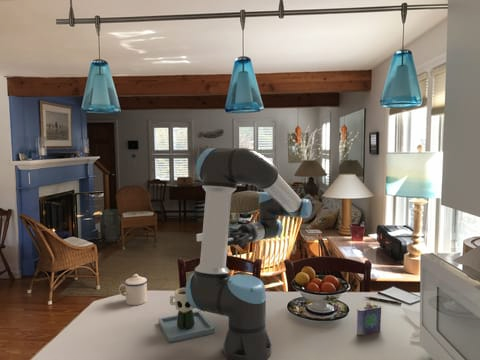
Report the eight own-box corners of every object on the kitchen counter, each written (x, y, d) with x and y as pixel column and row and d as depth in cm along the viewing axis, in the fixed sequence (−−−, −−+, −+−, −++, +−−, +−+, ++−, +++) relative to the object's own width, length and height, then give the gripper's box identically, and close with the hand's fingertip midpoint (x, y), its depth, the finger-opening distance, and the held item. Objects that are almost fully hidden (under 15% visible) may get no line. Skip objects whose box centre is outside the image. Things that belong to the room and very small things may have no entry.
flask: (359, 336, 132) (360, 305, 131) (354, 332, 135) (354, 302, 134) (382, 332, 135) (383, 302, 134) (376, 328, 138) (377, 298, 137)
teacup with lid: (150, 297, 169) (149, 271, 168) (143, 306, 160) (142, 278, 159) (123, 297, 170) (122, 270, 169) (115, 305, 161) (114, 278, 160)
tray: (214, 332, 136) (214, 327, 136) (169, 343, 129) (169, 337, 129) (199, 314, 151) (199, 310, 150) (158, 323, 144) (158, 318, 144)
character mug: (168, 331, 137) (167, 294, 135) (172, 321, 144) (171, 287, 143) (199, 330, 136) (198, 294, 135) (202, 321, 143) (201, 287, 142)
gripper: (272, 247, 148) (228, 258, 135) (231, 236, 168) (189, 244, 154) (272, 228, 148) (227, 236, 134) (231, 219, 167) (188, 226, 154)
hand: (207, 241), depth 144 cm, fingers open, 13 cm apart
